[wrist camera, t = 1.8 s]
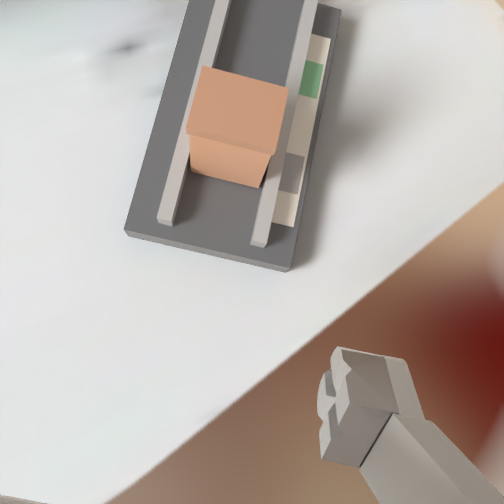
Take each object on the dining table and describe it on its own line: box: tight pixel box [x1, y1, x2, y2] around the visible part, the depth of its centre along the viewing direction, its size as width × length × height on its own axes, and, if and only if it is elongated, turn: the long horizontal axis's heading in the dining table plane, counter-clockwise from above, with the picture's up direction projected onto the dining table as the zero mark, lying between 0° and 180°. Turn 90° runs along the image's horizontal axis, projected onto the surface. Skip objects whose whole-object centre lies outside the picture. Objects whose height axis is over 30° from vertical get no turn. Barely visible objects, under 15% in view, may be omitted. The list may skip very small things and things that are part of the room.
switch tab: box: [186, 66, 289, 188], centre depth 29 cm, size 4×5×7 cm
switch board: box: [124, 0, 341, 272], centre depth 34 cm, size 22×12×4 cm, turn 168°
